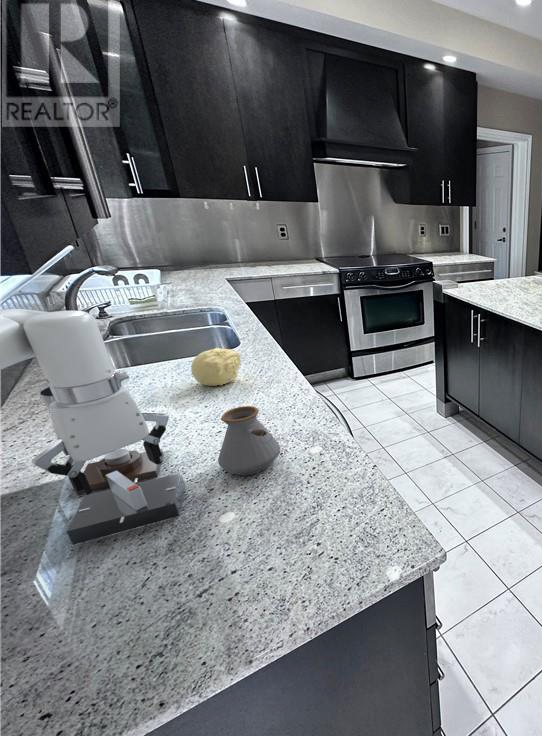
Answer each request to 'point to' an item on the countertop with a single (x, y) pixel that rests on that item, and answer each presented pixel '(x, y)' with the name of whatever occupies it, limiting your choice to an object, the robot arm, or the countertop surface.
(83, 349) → the robot arm
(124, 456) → the button
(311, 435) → the countertop surface
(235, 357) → the pale yellow lumpy ball
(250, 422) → the coffee pot
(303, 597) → the countertop surface
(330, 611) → the countertop surface
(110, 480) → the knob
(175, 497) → the dark grey flat block
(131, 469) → the switch block
